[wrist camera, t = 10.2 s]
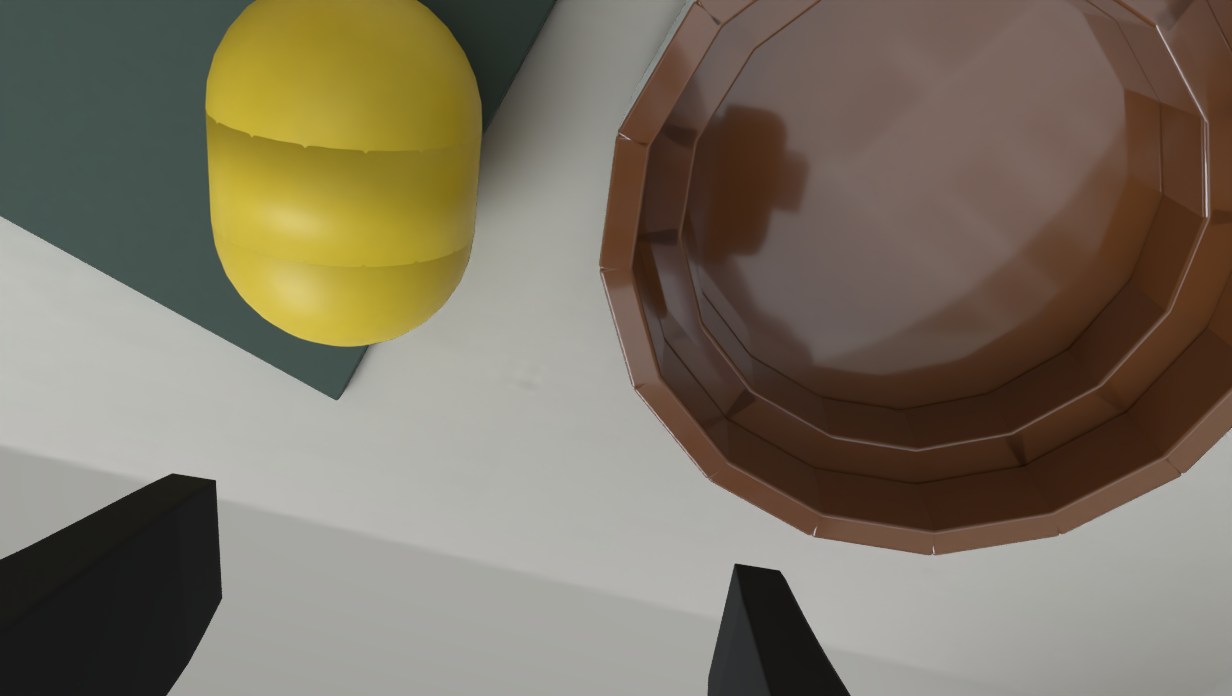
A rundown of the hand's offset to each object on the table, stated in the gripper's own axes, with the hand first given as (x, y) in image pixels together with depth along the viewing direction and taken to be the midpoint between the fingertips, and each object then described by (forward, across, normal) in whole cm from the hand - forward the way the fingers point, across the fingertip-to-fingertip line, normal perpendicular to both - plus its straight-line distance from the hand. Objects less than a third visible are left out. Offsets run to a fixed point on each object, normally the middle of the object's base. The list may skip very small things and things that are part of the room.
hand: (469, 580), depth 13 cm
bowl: (+9, -7, -4) cm, 12 cm away
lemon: (+8, +5, -4) cm, 11 cm away
